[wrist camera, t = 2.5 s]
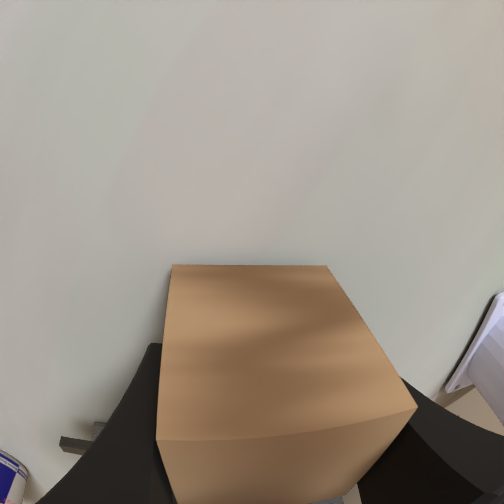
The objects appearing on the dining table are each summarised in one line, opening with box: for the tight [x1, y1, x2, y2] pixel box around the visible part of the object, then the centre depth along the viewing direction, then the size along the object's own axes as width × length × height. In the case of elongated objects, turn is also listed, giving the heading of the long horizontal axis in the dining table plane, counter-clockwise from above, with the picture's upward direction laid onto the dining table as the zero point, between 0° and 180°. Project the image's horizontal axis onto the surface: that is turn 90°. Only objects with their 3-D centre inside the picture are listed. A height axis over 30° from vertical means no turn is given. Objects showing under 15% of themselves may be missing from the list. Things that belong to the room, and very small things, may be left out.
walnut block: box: [156, 265, 418, 504], centre depth 9 cm, size 5×5×6 cm
